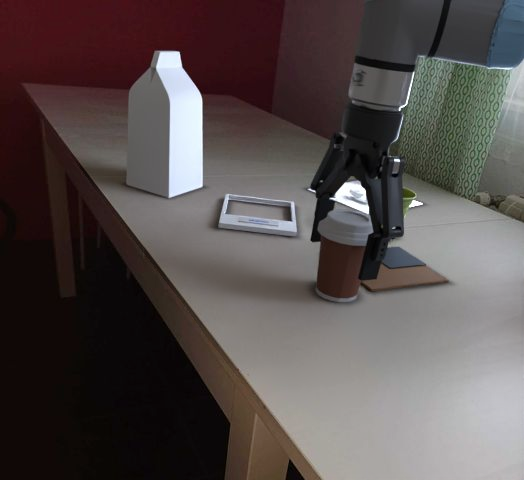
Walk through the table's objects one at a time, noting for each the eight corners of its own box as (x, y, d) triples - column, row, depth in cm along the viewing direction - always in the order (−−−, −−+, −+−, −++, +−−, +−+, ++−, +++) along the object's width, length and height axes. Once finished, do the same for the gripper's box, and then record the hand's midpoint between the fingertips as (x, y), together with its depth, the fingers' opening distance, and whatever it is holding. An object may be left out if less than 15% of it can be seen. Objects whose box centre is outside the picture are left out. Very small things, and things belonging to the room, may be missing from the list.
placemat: (448, 282, 91) (449, 279, 91) (371, 291, 85) (372, 288, 84) (398, 249, 102) (398, 246, 101) (326, 255, 95) (326, 252, 95)
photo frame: (218, 221, 99) (226, 193, 114) (218, 227, 100) (225, 198, 115) (297, 230, 100) (294, 201, 115) (296, 236, 101) (293, 206, 116)
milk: (168, 197, 111) (171, 56, 97) (126, 184, 116) (123, 46, 101) (202, 186, 120) (209, 55, 106) (162, 174, 125) (163, 47, 111)
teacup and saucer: (343, 196, 127) (346, 179, 124) (363, 192, 132) (367, 175, 129) (372, 208, 122) (376, 190, 119) (393, 203, 127) (397, 186, 124)
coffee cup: (376, 296, 83) (396, 222, 77) (341, 312, 77) (359, 233, 71) (331, 274, 88) (345, 202, 82) (294, 288, 82) (307, 212, 76)
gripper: (303, 85, 76) (281, 228, 87) (414, 126, 58) (368, 300, 69) (347, 88, 79) (321, 226, 91) (465, 128, 61) (413, 295, 72)
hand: (341, 259), depth 80 cm, fingers open, 13 cm apart
